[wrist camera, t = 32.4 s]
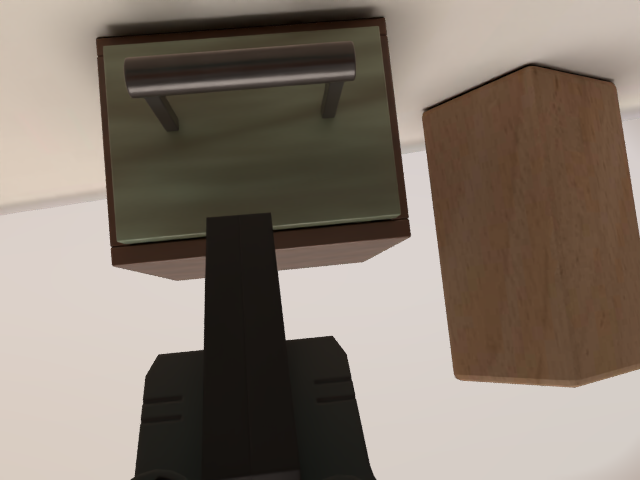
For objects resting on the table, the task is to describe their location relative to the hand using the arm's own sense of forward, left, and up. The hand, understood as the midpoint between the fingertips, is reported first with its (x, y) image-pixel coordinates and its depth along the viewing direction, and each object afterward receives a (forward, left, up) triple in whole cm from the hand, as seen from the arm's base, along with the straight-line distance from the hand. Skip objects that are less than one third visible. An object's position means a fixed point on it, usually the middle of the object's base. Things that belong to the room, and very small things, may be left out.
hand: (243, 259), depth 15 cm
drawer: (+17, 0, -11) cm, 20 cm away
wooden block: (+28, +19, -12) cm, 36 cm away
